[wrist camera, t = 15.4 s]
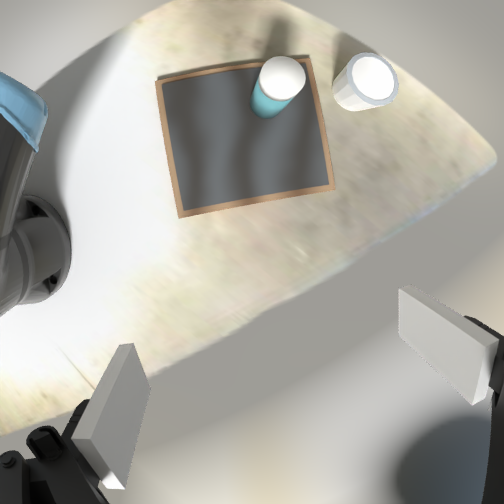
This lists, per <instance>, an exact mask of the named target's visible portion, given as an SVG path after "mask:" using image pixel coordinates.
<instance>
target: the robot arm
mask: <svg viewBox="0 0 504 504" xmlns="http://www.w3.org/2000/svg"><path fill="white" fill-rule="evenodd" d="M47 119H48V107H47V105H46V103H45V101H44V100H43V99H42V98H41V97H40V96H39V95H38V94H37V93H35V92H34V91H32V90H31V89H29V88H27V87H26V86H25V85H23V84H22V83H20V82H18V81H16V80H15V79H13V78H11V77H9V76H8V75H6V74H4V73H2V72H0V317H1V316H2V315H3V314H5V313H6V312H7V311H9V310H10V309H11V308H13V307H14V306H15V305H22V304H33V303H38V302H41V301H44V300H46V299H47V298H49V297H50V296H51V295H53V294H54V293H55V292H57V291H58V290H59V289H60V287H61V286H62V285H63V283H64V282H65V280H66V277H67V275H68V272H69V268H70V262H71V247H70V240H69V236H68V232H67V229H66V227H65V225H64V222H63V221H62V219H61V217H60V215H59V214H58V213H57V211H56V210H55V209H54V208H53V207H52V206H51V205H50V204H49V203H47V202H46V201H45V200H43V199H41V198H39V197H36V196H31V195H23V196H22V194H23V190H24V187H25V184H26V181H27V177H28V174H29V171H30V168H31V165H32V163H33V160H34V157H35V154H36V153H38V150H39V146H38V144H39V141H40V138H41V135H42V133H43V130H44V127H45V124H46V122H47ZM399 336H400V337H401V338H402V339H403V340H404V341H405V342H406V343H407V344H408V345H409V346H410V347H411V348H412V349H414V350H415V351H416V352H417V353H418V354H419V355H420V356H421V357H422V358H423V359H424V360H426V362H427V363H428V364H429V365H431V366H432V367H433V368H434V369H435V370H436V371H437V372H438V373H439V374H440V375H441V376H442V377H443V378H444V379H445V380H446V381H447V382H448V383H449V384H450V385H451V386H452V387H453V388H454V389H455V390H457V391H458V392H459V393H460V394H461V395H462V396H463V397H464V398H465V399H466V400H467V401H468V402H469V403H470V404H471V405H474V404H475V403H477V402H479V401H481V400H482V399H484V398H485V397H486V393H487V390H488V386H490V387H491V388H492V389H493V390H494V392H493V395H492V399H491V402H490V405H489V408H488V411H490V410H491V407H492V416H491V435H490V447H489V457H488V466H487V474H486V480H485V486H484V492H483V498H482V503H481V504H504V336H502V335H501V334H499V333H498V332H496V331H494V330H492V329H491V328H489V327H488V326H487V325H485V324H483V323H482V322H480V321H479V320H477V319H475V318H472V317H469V316H462V315H460V314H459V313H457V312H455V311H454V310H452V309H451V308H449V307H447V306H446V305H444V304H443V303H441V302H439V301H437V300H436V299H434V298H433V297H431V296H429V295H428V294H426V293H424V292H423V291H421V290H419V289H418V288H416V287H415V286H413V285H407V286H403V287H400V288H399ZM150 391H151V387H150V385H149V383H148V380H147V377H146V375H145V372H144V370H143V367H142V365H141V362H140V359H139V357H138V354H137V351H136V349H135V346H134V343H131V344H123V345H119V347H118V348H117V350H116V352H115V354H114V356H113V357H112V359H111V361H110V363H109V365H108V367H107V369H106V370H105V372H104V374H103V376H102V378H101V380H100V382H99V384H98V386H97V387H96V389H95V391H94V393H93V395H92V397H91V399H86V400H83V401H82V402H81V403H80V404H79V405H78V406H77V407H76V409H75V411H74V413H73V416H72V417H71V418H70V420H69V423H68V424H67V426H66V428H65V430H64V432H63V434H62V435H61V436H60V435H59V433H58V431H57V430H56V429H55V428H54V427H51V426H42V427H39V428H37V429H35V430H33V431H32V432H31V433H30V434H29V435H28V437H27V440H26V444H27V446H28V447H29V449H30V450H31V451H32V453H33V454H34V455H35V457H36V458H33V459H26V460H25V459H24V458H23V456H22V455H21V454H20V453H19V452H18V451H15V450H14V451H7V452H5V453H3V454H2V455H0V504H109V502H108V501H107V499H106V498H105V497H104V495H103V493H102V492H101V491H100V489H99V488H98V483H99V480H101V481H102V483H103V484H104V485H105V486H106V488H110V489H125V487H126V483H127V479H128V475H129V471H130V467H131V463H132V458H133V454H134V451H135V446H136V443H137V438H138V435H139V431H140V427H141V424H142V420H143V416H144V413H145V409H146V406H147V402H148V398H149V395H150Z"/></svg>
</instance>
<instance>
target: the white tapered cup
mask: <svg viewBox="0 0 504 504" xmlns="http://www.w3.org/2000/svg"><path fill="white" fill-rule="evenodd" d="M398 86H399V83H398V79H397V75H396V73H395V71H394V69H393V68H392V66H391V65H390V64H389V63H388V62H387V61H386V60H385V59H384V58H383V57H381V56H379V55H376V54H374V53H367V52H362V53H359V54H357V55H355V56H353V57H352V59H351V60H350V61H349V62H348V64H347V65H346V66H345V67H344V69H343V70H342V71H341V72H340V73H339V75H338V76H337V77H336V79H335V80H334V81H333V85H332V92H333V96H334V98H335V100H336V101H337V103H338V104H339V105H341V106H342V107H343V108H344V109H347V110H350V111H361V110H365V109H370V108H374V107H379V106H384V105H386V104H388V103H390V102H392V101H393V100H394V98H395V97H396V95H397V93H398Z"/></svg>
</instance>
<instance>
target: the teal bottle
mask: <svg viewBox="0 0 504 504" xmlns="http://www.w3.org/2000/svg"><path fill="white" fill-rule="evenodd" d="M305 80H306V76H305V72H304V69H303V68H302V66H301V65H300V64H299V63H298V62H297V61H296V60H294V59H292V58H289V57H286V56H277V57H273V58H271V59H269V60H268V61H267V62H266V63H265V64H264V65H263V67H262V69H261V72H260V74H259V77H258V80H257V82H256V85H255V87H254V90H253V93H252V95H251V98H250V108H251V110H252V112H253V113H254V114H255V115H256V116H258V117H260V118H263V119H270V118H274V117H276V116H277V115H278V114H279V113H280V112H281V111H282V110H283V109H284V108H285V107H286V105H287V104H288V103H289V102H290V101H291V100H292V99H293V98H294V97H295V96H296V95H297V94H298V92H299V91H300V90H301V89H302V88H303V86H304V84H305Z"/></svg>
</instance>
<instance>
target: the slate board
mask: <svg viewBox="0 0 504 504" xmlns="http://www.w3.org/2000/svg"><path fill="white" fill-rule="evenodd" d="M294 60H296V61H297V62H298V63H299V64H300V65H301V66H302V68H303V69H304V72H305V76H306V80H305V84H304V86H303V88H302V89H301V90H300V91H299V92H298V94H297V95H296V96H295V97H294V98H293V99H292V100H291V101H290V102H289V103H288V104H287V105H286V107H285V108H284V109H283V110H282V111H281V112H280V113H279V114H278V115H277V116H276V117H274V118H270V119H263V118H260V117H258V116H256V115H255V114H254V113H253V112H252V110H251V108H250V98H251V95H252V93H253V90H254V87H255V85H256V82H257V80H258V77H259V74H260V72H261V69H262V67H263V65H264V64H265V63H266V62H258V63H249V64H242V65H235V66H228V67H222V68H215V69H210V70H204V71H199V72H194V73H189V74H184V75H179V76H175V77H170V78H166V79H162V80H158V81H155V86H156V93H157V100H158V106H159V113H160V119H161V125H162V131H163V137H164V143H165V149H166V155H167V160H168V166H169V171H170V177H171V182H172V187H173V192H174V197H175V202H176V207H177V212H178V217H179V218H184V217H189V216H194V215H199V214H203V213H208V212H213V211H219V210H224V209H229V208H234V207H239V206H245V205H250V204H255V203H261V202H266V201H272V200H278V199H283V198H289V197H295V196H301V195H307V194H313V193H319V192H325V191H332V190H335V184H334V178H333V172H332V165H331V159H330V154H329V148H328V142H327V137H326V131H325V126H324V121H323V116H322V111H321V106H320V101H319V96H318V92H317V87H316V83H315V78H314V74H313V69H312V65H311V61H310V58H305V59H294Z"/></svg>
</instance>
